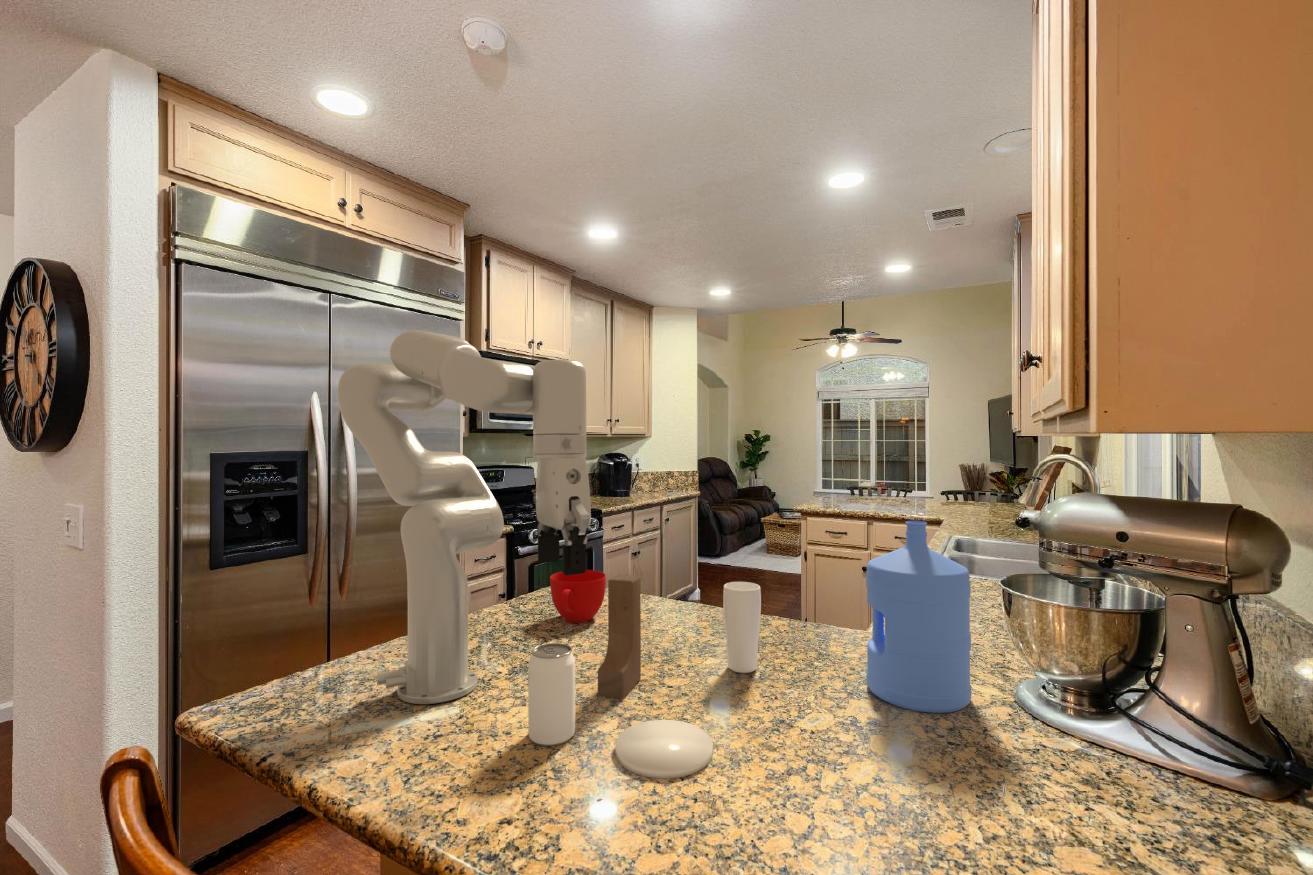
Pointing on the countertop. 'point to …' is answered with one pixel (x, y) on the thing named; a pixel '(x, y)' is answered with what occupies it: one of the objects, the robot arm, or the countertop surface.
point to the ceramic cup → (578, 594)
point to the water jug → (919, 627)
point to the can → (551, 694)
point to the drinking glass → (742, 624)
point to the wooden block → (622, 638)
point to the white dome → (664, 749)
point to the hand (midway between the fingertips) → (560, 567)
